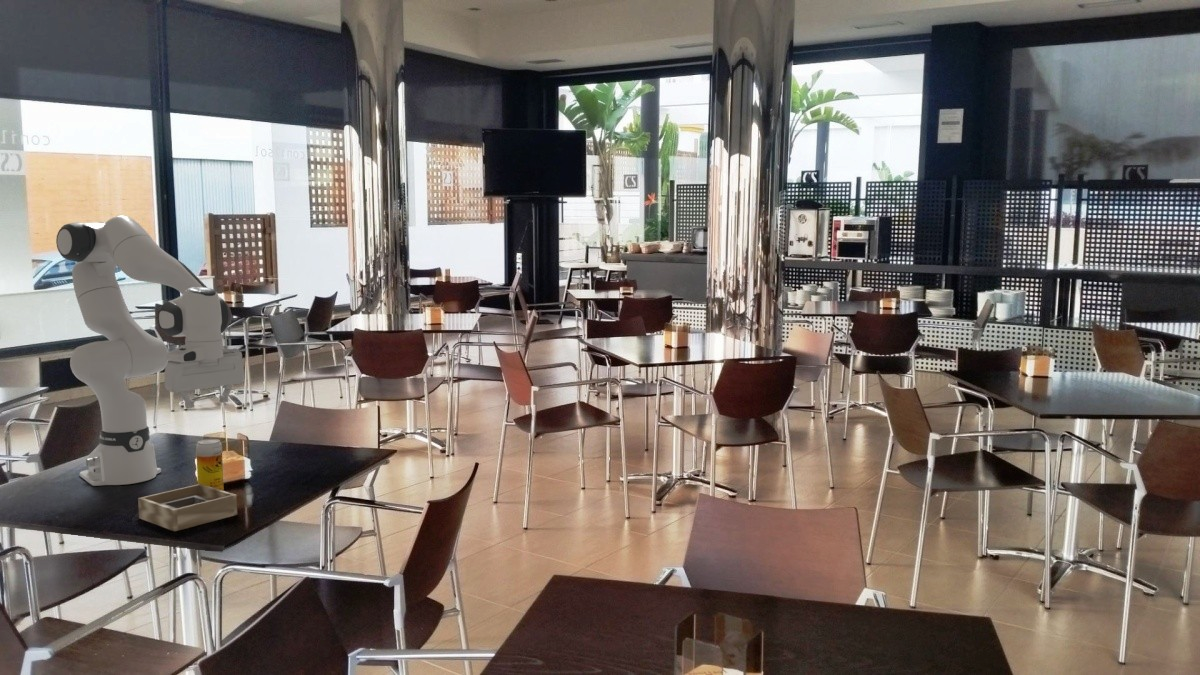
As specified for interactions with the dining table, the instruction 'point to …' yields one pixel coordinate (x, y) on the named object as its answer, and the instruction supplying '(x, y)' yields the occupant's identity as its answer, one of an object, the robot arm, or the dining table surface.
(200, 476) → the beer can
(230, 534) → the dining table surface
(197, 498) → the crate
